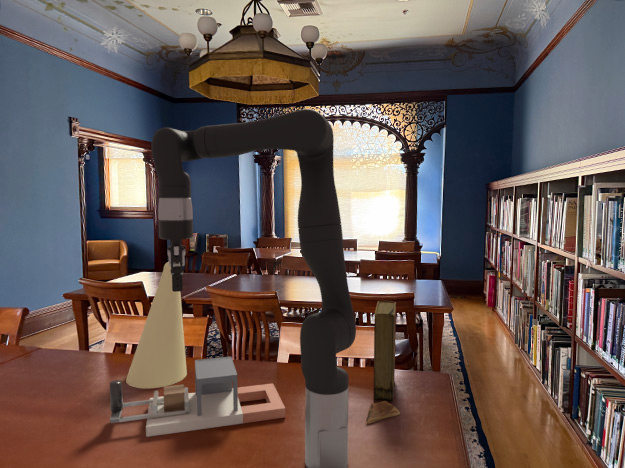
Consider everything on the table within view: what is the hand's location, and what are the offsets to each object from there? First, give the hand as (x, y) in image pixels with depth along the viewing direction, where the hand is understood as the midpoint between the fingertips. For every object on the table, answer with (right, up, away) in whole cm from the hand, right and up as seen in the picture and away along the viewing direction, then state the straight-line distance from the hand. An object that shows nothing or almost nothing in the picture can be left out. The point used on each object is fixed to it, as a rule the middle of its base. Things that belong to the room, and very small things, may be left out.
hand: (177, 287), depth 105 cm
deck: (+6, -35, +15) cm, 39 cm away
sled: (-10, -32, +10) cm, 36 cm away
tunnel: (+5, -32, +16) cm, 36 cm away
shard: (+50, -36, +14) cm, 63 cm away
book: (+53, -34, +29) cm, 69 cm away
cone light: (-18, -33, +42) cm, 56 cm away
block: (-4, -33, +12) cm, 35 cm away
